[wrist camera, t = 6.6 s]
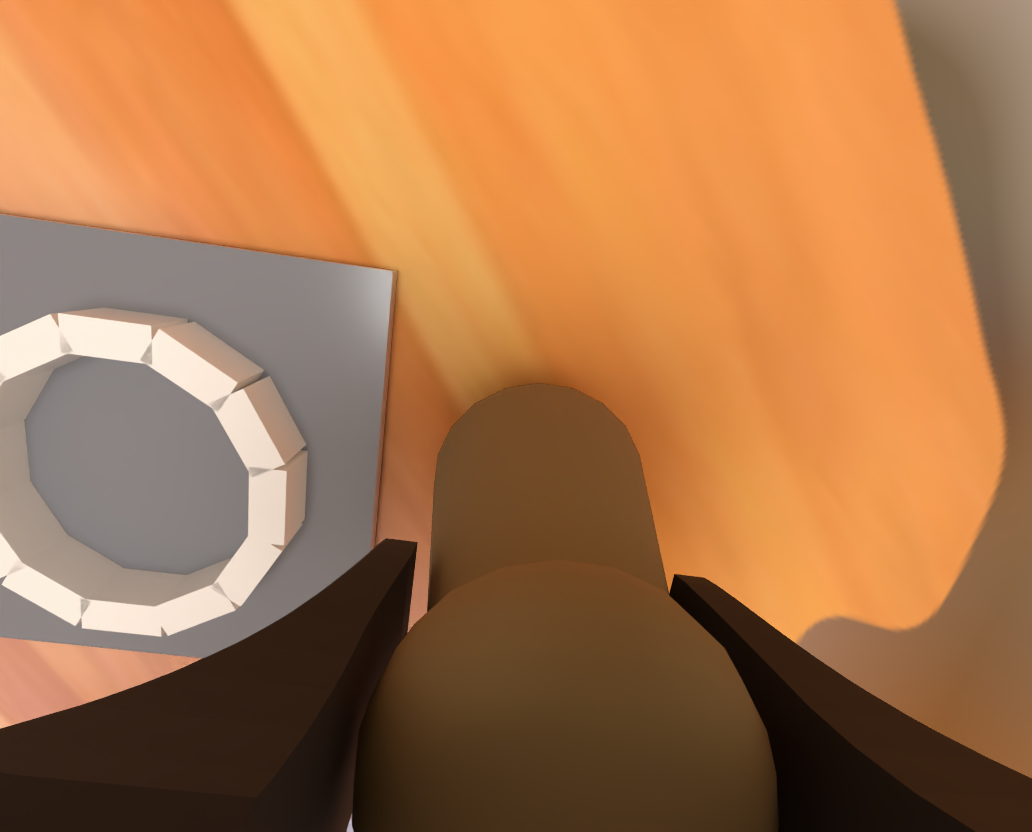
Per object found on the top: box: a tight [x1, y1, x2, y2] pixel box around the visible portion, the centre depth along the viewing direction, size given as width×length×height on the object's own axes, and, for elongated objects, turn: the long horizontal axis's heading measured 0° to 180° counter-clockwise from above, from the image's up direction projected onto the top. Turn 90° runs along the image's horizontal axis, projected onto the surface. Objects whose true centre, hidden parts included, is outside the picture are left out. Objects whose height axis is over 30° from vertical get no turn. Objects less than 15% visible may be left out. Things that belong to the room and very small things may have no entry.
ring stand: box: [0, 213, 397, 658], centre depth 19 cm, size 16×16×3 cm
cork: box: [352, 383, 779, 832], centre depth 11 cm, size 6×6×11 cm
